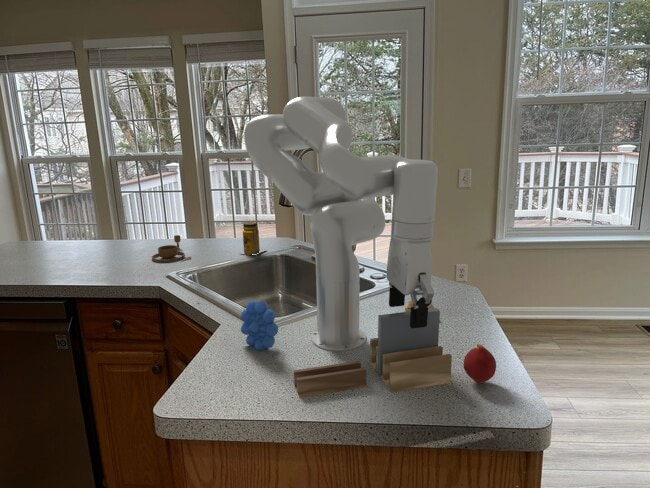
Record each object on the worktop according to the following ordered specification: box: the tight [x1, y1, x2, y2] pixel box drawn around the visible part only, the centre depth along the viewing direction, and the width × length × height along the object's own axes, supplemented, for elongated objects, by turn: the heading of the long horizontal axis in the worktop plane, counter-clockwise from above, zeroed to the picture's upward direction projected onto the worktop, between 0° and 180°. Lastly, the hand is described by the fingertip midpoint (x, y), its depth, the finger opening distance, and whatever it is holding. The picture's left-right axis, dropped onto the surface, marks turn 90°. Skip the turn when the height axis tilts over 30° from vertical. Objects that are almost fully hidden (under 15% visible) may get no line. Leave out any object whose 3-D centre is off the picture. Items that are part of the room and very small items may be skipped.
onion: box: [462, 343, 497, 384], centre depth 87 cm, size 6×6×8 cm
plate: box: [377, 307, 441, 377], centre depth 89 cm, size 1×12×12 cm, turn 104°
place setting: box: [151, 234, 192, 264], centre depth 178 cm, size 18×20×6 cm
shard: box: [404, 300, 435, 312], centre depth 120 cm, size 11×8×2 cm
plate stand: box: [292, 360, 369, 399], centre depth 87 cm, size 6×13×4 cm, turn 105°
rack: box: [368, 337, 453, 393], centre depth 90 cm, size 12×12×6 cm
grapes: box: [240, 300, 279, 351], centre depth 101 cm, size 12×7×12 cm, turn 47°
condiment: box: [242, 221, 261, 256], centre depth 180 cm, size 7×8×12 cm
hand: (406, 315), depth 89 cm, fingers open, 9 cm apart
